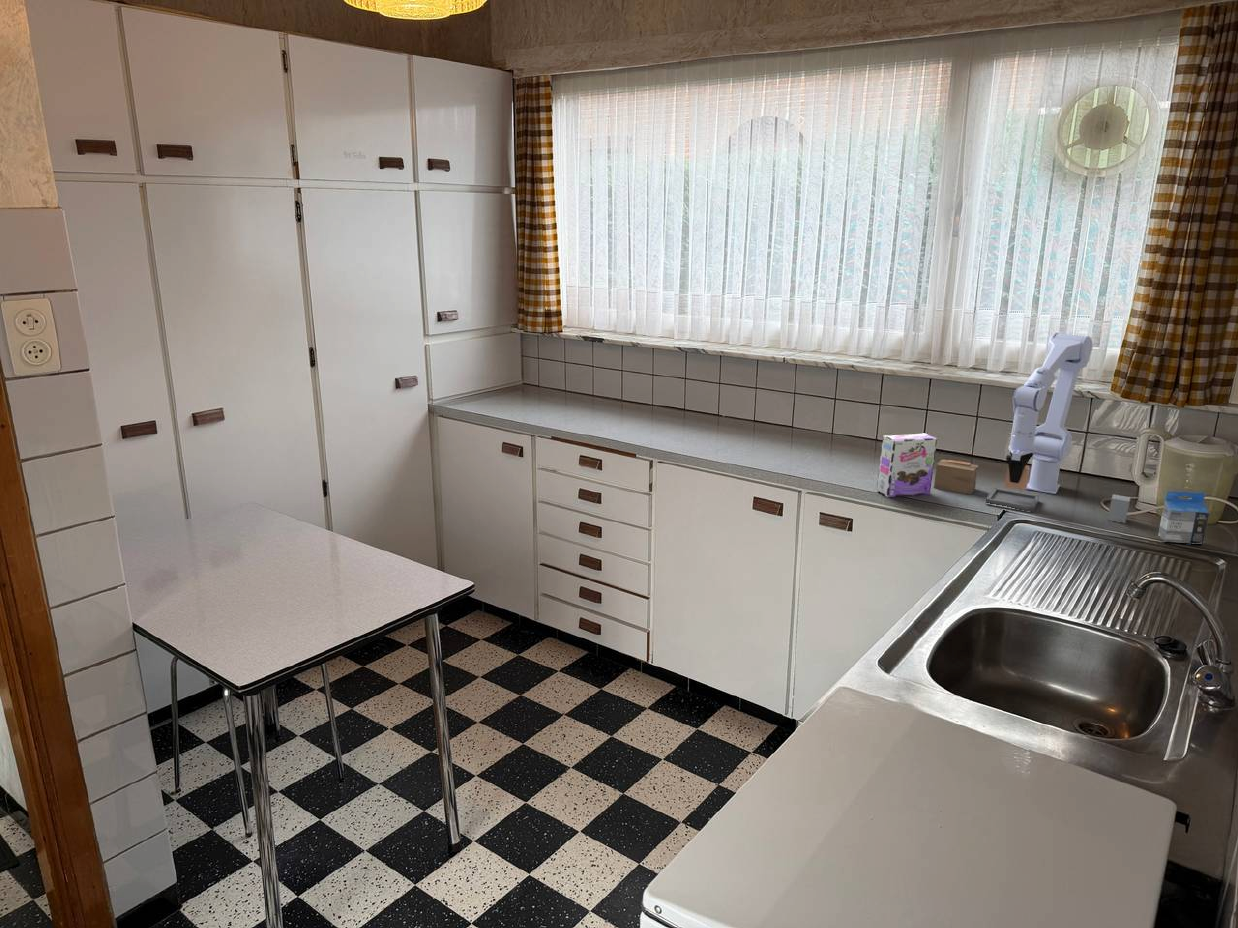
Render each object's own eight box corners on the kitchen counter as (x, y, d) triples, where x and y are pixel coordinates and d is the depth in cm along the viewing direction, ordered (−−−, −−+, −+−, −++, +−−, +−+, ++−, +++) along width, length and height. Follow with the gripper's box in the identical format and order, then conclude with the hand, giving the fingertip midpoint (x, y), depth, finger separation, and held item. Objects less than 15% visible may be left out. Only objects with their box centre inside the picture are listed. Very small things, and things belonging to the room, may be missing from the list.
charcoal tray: (993, 493, 245) (994, 488, 245) (1038, 501, 239) (1039, 495, 239) (985, 504, 236) (986, 498, 235) (1032, 513, 230) (1033, 507, 229)
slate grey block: (1108, 515, 229) (1112, 494, 227) (1126, 519, 227) (1130, 497, 225) (1107, 520, 226) (1111, 498, 224) (1125, 523, 224) (1129, 501, 222)
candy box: (887, 498, 239) (893, 440, 235) (875, 491, 245) (881, 434, 240) (930, 494, 243) (938, 437, 238) (918, 488, 248) (925, 432, 244)
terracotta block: (1007, 483, 239) (1010, 462, 237) (1026, 486, 236) (1030, 465, 235) (1004, 486, 236) (1007, 465, 234) (1024, 490, 233) (1028, 468, 231)
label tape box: (1163, 543, 211) (1174, 495, 207) (1156, 537, 214) (1166, 490, 211) (1203, 546, 209) (1214, 497, 206) (1194, 540, 213) (1205, 492, 210)
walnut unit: (939, 482, 254) (942, 458, 252) (975, 488, 249) (978, 463, 247) (933, 487, 249) (937, 463, 247) (970, 494, 244) (974, 469, 242)
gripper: (1035, 439, 224) (1027, 489, 228) (1043, 428, 235) (1035, 476, 239) (1006, 435, 227) (998, 484, 231) (1015, 424, 239) (1008, 471, 243)
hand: (1015, 480), depth 235 cm, fingers closed on terracotta block, 4 cm apart
